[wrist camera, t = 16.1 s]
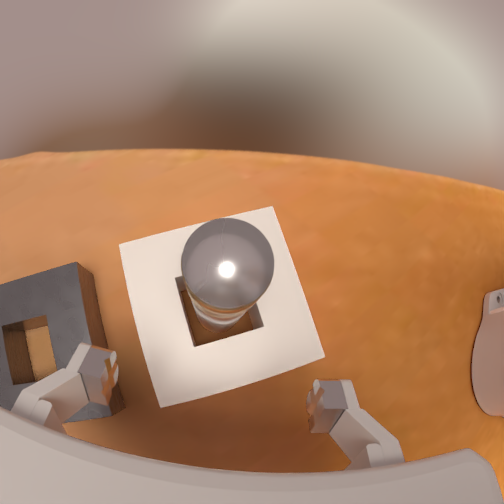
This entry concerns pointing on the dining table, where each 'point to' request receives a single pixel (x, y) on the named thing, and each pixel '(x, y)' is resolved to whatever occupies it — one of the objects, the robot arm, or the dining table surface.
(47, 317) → the socket block
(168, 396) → the rack block
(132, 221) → the dining table surface
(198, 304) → the shiny cylindrical peg
